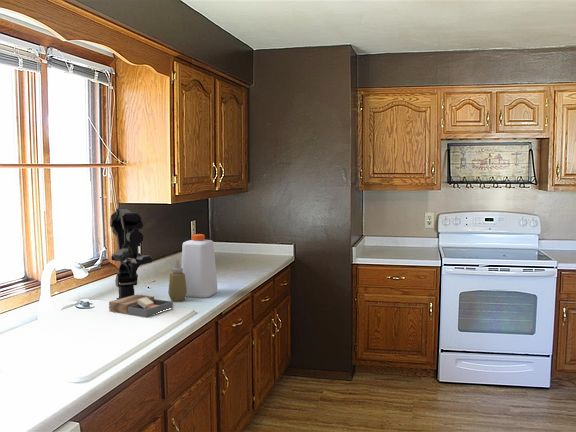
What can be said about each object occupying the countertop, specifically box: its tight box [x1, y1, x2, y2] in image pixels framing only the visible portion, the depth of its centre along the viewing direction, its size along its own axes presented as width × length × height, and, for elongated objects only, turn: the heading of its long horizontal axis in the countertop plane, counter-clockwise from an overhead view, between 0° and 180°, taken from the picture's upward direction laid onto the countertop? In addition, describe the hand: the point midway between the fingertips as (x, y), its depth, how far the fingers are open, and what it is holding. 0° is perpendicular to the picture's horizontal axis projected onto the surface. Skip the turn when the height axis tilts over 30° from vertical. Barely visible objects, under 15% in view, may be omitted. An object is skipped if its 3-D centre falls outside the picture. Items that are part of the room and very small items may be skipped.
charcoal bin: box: [127, 298, 174, 318], centre depth 242 cm, size 10×16×3 cm, turn 151°
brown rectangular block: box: [108, 293, 155, 315], centre depth 246 cm, size 10×16×4 cm, turn 151°
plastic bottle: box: [180, 233, 218, 299], centre depth 272 cm, size 15×15×28 cm
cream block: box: [137, 297, 154, 309], centre depth 242 cm, size 4×4×2 cm
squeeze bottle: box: [168, 259, 187, 303], centre depth 261 cm, size 8×8×18 cm
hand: (132, 278), depth 251 cm, fingers closed
